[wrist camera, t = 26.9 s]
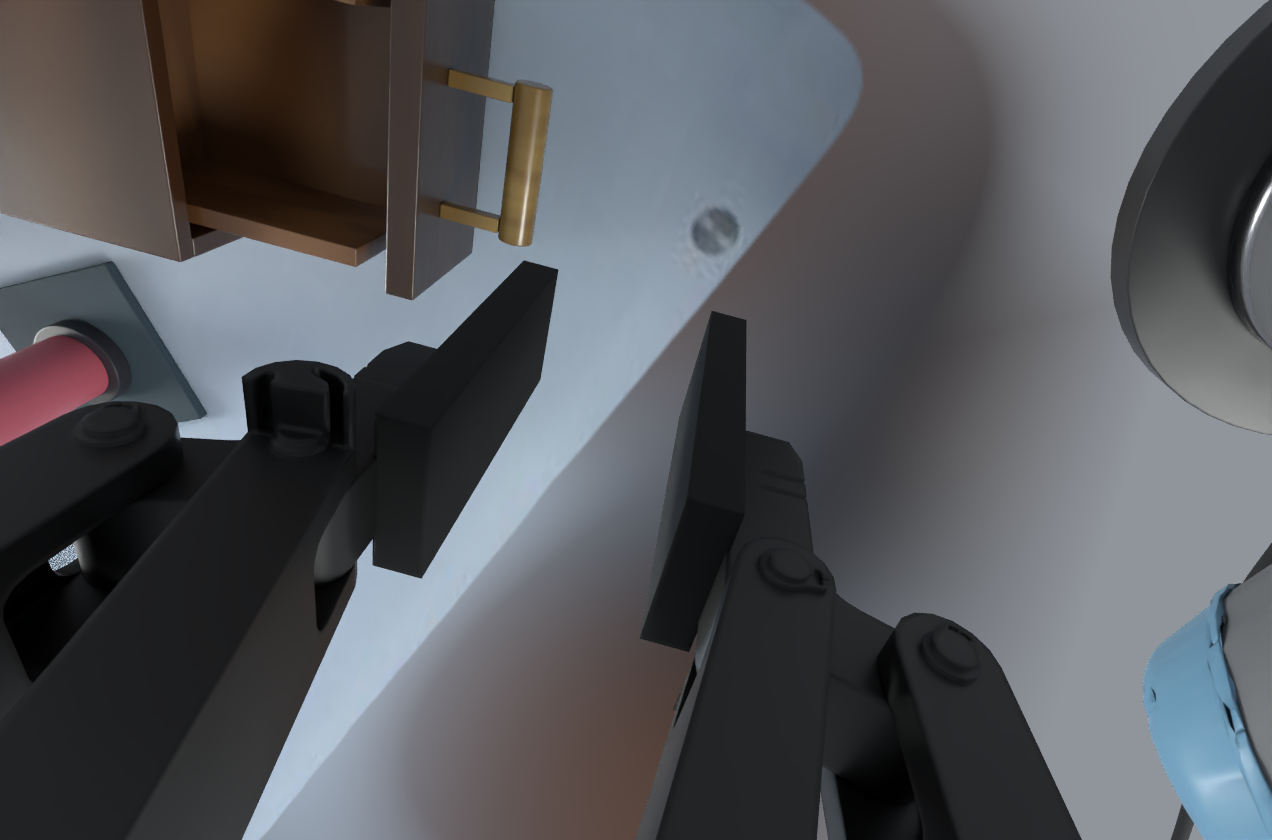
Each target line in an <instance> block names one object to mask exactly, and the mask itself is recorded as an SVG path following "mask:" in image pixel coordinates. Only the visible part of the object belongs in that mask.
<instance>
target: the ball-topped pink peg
mask: <svg viewBox="0 0 1272 840" xmlns="http://www.w3.org/2000/svg"><path fill="white" fill-rule="evenodd" d="M130 384H131V370H130V366H129V364H128V361H127V359H126V357H125V355H124V354H123V352H122V351H121V350H120V348H119V347H118V346H117V345H116V344H115V342H114V341H113V340H112V339H110V338H109V337H108V336H107V335H106V334H104V333H103V332H102V331H100V330H99V329H97V328H95V327H94V326H92V325H89V324H87V323H85V322H81V321H77V320H61V321H58V322H56V323H53V324H51V325H49V326H46V327H44V328H42V329H41V330H40V331H39V332H38V333H37V335H36V336H35V339H34V345H31V346H29V347H27V348H24V349H22V350H20V351H18V352H15V353H13V354H11V355H8V356H6V357H4V358H2V359H0V446H2V445H4V444H6V443H8V442H10V441H12V440H14V439H16V438H18V437H20V436H22V435H24V434H26V433H28V432H30V431H32V430H34V429H36V428H38V427H40V426H42V425H44V424H46V423H48V422H50V421H52V420H53V419H55V418H57V417H59V416H61V415H63V414H66V413H69V412H71V411H72V410H74V409H76V408H78V407H79V406H81V405H83V404H85V403H91V404H100V403H106V402H110V401H112V400H114V399H115V398H117V397H119V396H120V395H122V394H124V393H125V392H126V391H127V390H128V388H129V386H130Z"/></svg>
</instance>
